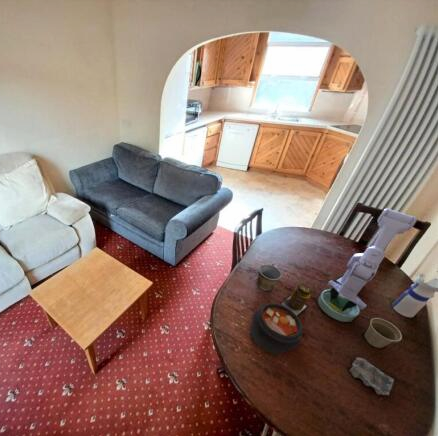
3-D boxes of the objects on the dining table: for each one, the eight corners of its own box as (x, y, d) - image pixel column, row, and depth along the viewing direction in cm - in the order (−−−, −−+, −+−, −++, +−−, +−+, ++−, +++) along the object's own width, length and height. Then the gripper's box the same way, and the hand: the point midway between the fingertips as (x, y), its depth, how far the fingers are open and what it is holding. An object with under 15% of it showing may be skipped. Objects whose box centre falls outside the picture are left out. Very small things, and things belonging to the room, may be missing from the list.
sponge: (335, 300, 110) (340, 294, 108) (345, 308, 107) (350, 302, 104) (326, 306, 108) (330, 300, 106) (336, 314, 105) (340, 308, 102)
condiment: (306, 306, 109) (317, 289, 102) (296, 315, 105) (306, 299, 98) (291, 295, 114) (300, 279, 107) (281, 304, 110) (289, 287, 103)
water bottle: (389, 298, 112) (423, 260, 98) (413, 307, 108) (453, 269, 94) (390, 310, 107) (428, 273, 92) (416, 320, 102) (459, 283, 88)
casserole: (281, 369, 87) (289, 358, 82) (238, 331, 99) (242, 320, 94) (310, 329, 100) (318, 317, 95) (269, 299, 112) (274, 288, 107)
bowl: (330, 291, 116) (334, 285, 113) (361, 315, 105) (367, 309, 102) (310, 301, 111) (314, 295, 108) (341, 327, 100) (346, 321, 98)
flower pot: (391, 357, 90) (405, 345, 85) (361, 345, 94) (372, 333, 89) (385, 336, 97) (398, 324, 92) (357, 325, 101) (368, 314, 96)
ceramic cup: (272, 297, 113) (278, 283, 107) (251, 286, 118) (256, 273, 112) (278, 280, 122) (285, 266, 116) (258, 271, 127) (264, 257, 121)
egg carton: (346, 372, 86) (352, 367, 84) (354, 359, 90) (359, 353, 88) (383, 400, 79) (390, 395, 77) (390, 384, 83) (396, 379, 81)
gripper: (328, 277, 103) (316, 296, 111) (365, 303, 92) (348, 322, 100) (339, 271, 105) (326, 291, 113) (375, 296, 95) (358, 316, 102)
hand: (337, 305), depth 107 cm, fingers closed on sponge, 4 cm apart
